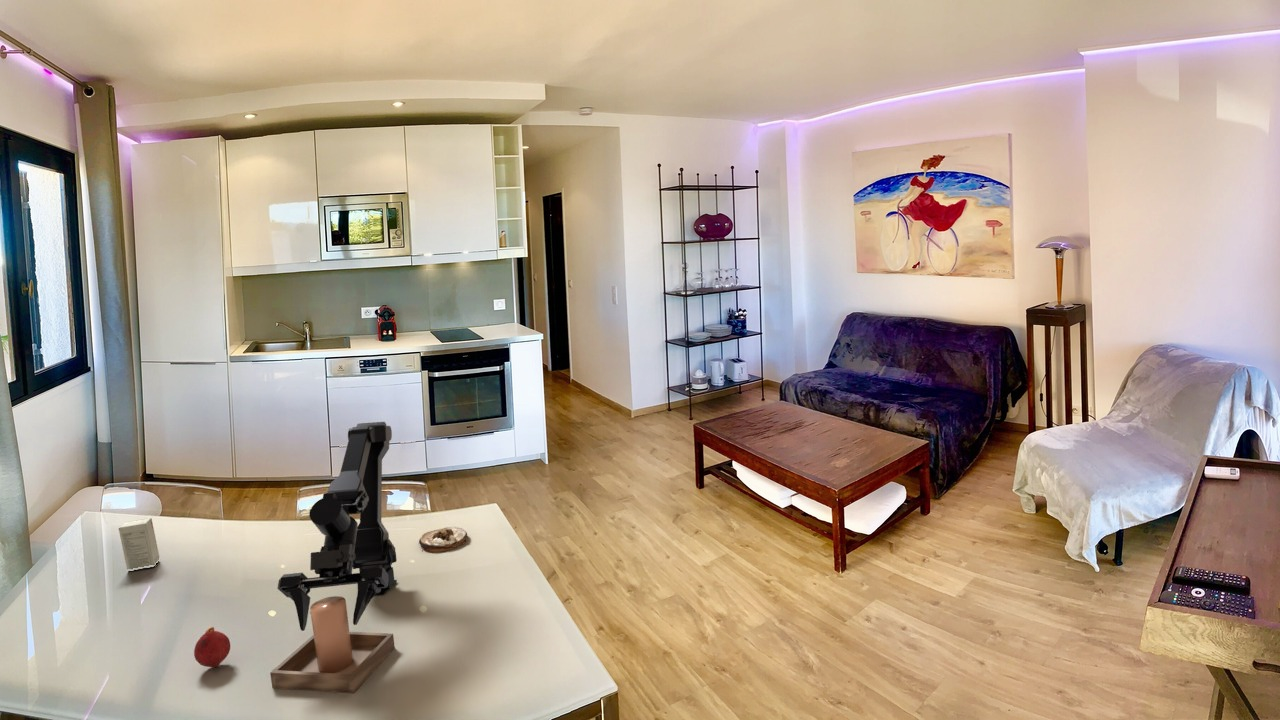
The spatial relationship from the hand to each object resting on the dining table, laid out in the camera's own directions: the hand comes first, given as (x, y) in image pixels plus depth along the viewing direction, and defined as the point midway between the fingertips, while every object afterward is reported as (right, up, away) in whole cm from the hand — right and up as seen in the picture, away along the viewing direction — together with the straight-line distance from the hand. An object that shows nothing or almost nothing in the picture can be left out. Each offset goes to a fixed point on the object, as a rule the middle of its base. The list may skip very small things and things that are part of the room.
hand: (328, 627), depth 126 cm
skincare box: (-71, -5, +52) cm, 88 cm away
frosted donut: (+5, 0, +58) cm, 58 cm away
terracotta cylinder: (0, -8, +2) cm, 8 cm away
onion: (-24, -9, +5) cm, 26 cm away
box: (0, -8, +2) cm, 9 cm away
